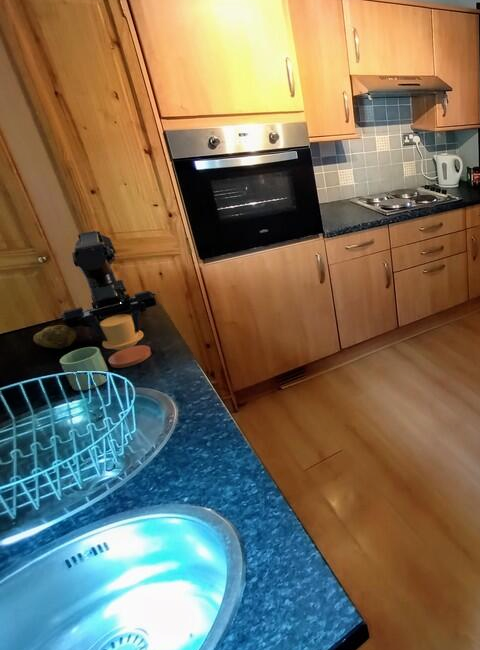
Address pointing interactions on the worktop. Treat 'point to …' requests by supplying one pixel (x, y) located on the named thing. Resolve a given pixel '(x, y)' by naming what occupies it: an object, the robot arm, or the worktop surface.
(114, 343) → the orange top hat
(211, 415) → the worktop surface
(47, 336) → the potato
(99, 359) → the pale green cylinder
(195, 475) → the worktop surface
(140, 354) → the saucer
